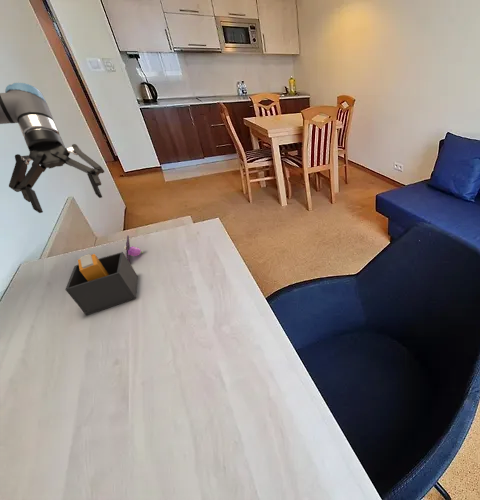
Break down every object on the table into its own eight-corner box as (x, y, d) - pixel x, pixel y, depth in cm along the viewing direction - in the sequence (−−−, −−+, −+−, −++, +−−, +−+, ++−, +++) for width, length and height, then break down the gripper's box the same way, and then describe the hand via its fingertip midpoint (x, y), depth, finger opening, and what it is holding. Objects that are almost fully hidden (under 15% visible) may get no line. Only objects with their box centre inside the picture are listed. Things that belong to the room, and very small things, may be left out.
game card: (124, 235, 106) (123, 247, 100) (142, 235, 109) (142, 246, 102) (126, 252, 109) (125, 264, 102) (143, 251, 112) (143, 263, 105)
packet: (104, 303, 86) (78, 268, 79) (101, 291, 91) (76, 258, 84) (120, 296, 88) (96, 262, 81) (116, 285, 93) (93, 251, 86)
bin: (86, 315, 84) (65, 289, 78) (93, 290, 93) (74, 265, 87) (135, 298, 88) (119, 272, 83) (137, 276, 97) (122, 251, 92)
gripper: (100, 135, 93) (126, 195, 91) (-7, 154, 83) (19, 222, 81) (89, 119, 87) (117, 183, 84) (-29, 138, 76) (0, 212, 74)
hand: (69, 203), depth 83 cm, fingers open, 13 cm apart
